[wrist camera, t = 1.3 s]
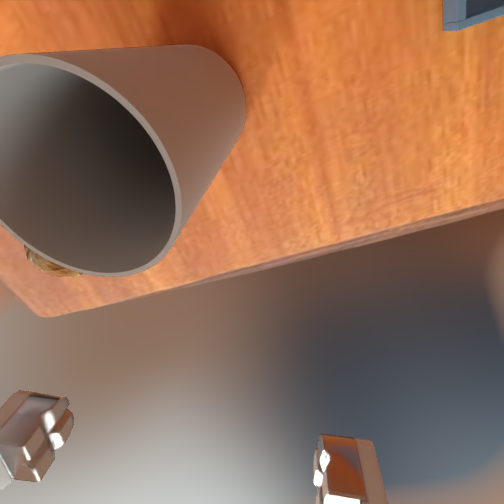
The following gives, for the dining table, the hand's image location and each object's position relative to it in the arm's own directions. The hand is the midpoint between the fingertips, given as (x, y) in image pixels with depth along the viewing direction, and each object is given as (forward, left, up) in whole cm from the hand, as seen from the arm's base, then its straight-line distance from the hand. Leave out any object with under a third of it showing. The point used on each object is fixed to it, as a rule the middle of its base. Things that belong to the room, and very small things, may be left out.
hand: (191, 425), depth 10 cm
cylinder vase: (-6, -8, -35) cm, 36 cm away
